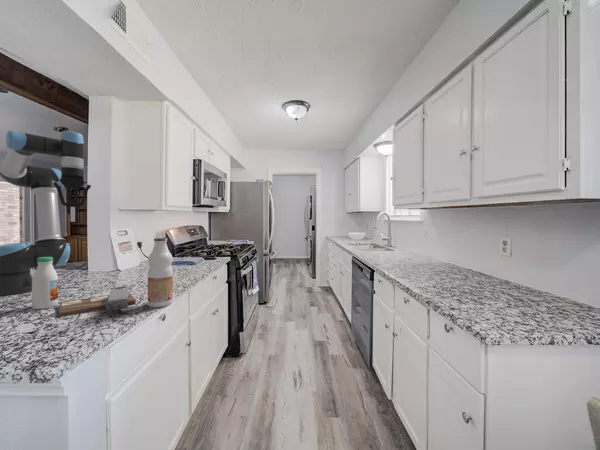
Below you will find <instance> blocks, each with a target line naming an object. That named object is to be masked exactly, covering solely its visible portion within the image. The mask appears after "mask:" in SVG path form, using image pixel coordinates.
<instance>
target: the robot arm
mask: <svg viewBox="0 0 600 450" xmlns="http://www.w3.org/2000/svg"><path fill="white" fill-rule="evenodd" d="M84 140H85V139H84V135H83V134H82V133H79V132H76V131H71V130H63V131H61V135H60V139H58V138H53V137H48V136H44V135H43V136H42V135H37V134H34V133H27V132H23V131H15V130H8V131H7V132H6V137H5V144H6V147H7V148H8V151H7V154H6V156H5V157H4V159H3V160H2V161H0V177H1V178H2V179H3V180H4V181H6V182H7V183H9V184H11V185H13V186H15V187H21V188H29V189H30V191H31V193H32V194H34V195H35V205H36V207H35V208H36V219H37V232H38V235H37V236H38V239H36V240H35V241H34V244H31V242H29V241H24V242H15V243H8V244H2V245H0V296H2V297H3V296H11V295H18V294H25V293H27V292H32V278H33V275H31V269H35V268H36V269H37V267H38V263H37V258H40V257H53V262H52V265H53V267H57V266H64V265H65V264H67V263H68V261H69V259H70V255H71V245H70V243H68V242H66V239H65V238H64V237H62V236H61V235H62V234H61V223H60V212H59V211H60V210H59V200H60V203H61V205H62V206H65V207H66V213H67V215H70V222H71V223H72V222H73V223H76V215H79V208H80V207H83V206H84V204H85V202H86V198H87V195H88V191H89V190H90V189H91V187H92V185H91V184H88V183H86V181H85V176H84V173H85V172H84V167H85V164H84V162H85V161H84V154H85V153H84V145H85V142H84ZM35 153H36V154H42V155H47V156H48V155H49V156H55V157H57V158H60V160H61V161H60V164H61V165H60V166H61V168H60V169H61V170H60V169H58V168H55V167H54V168H53V167H48V166H47V167H46V166H40V165H38V166H37V165H31V164H30V162H31V160H32V159H33V157H34V155H35ZM82 187H83V188H84V190H83V194H82V197H81V199H80V202H79V190H80V189H81V188H82ZM64 188H66V201H65V199H64V195H63V192H62V190H64ZM72 190H74V206H71V204H72V202H71V201H72V198H71V197H72V195H71V194H72ZM58 199H59V200H58Z"/></svg>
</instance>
